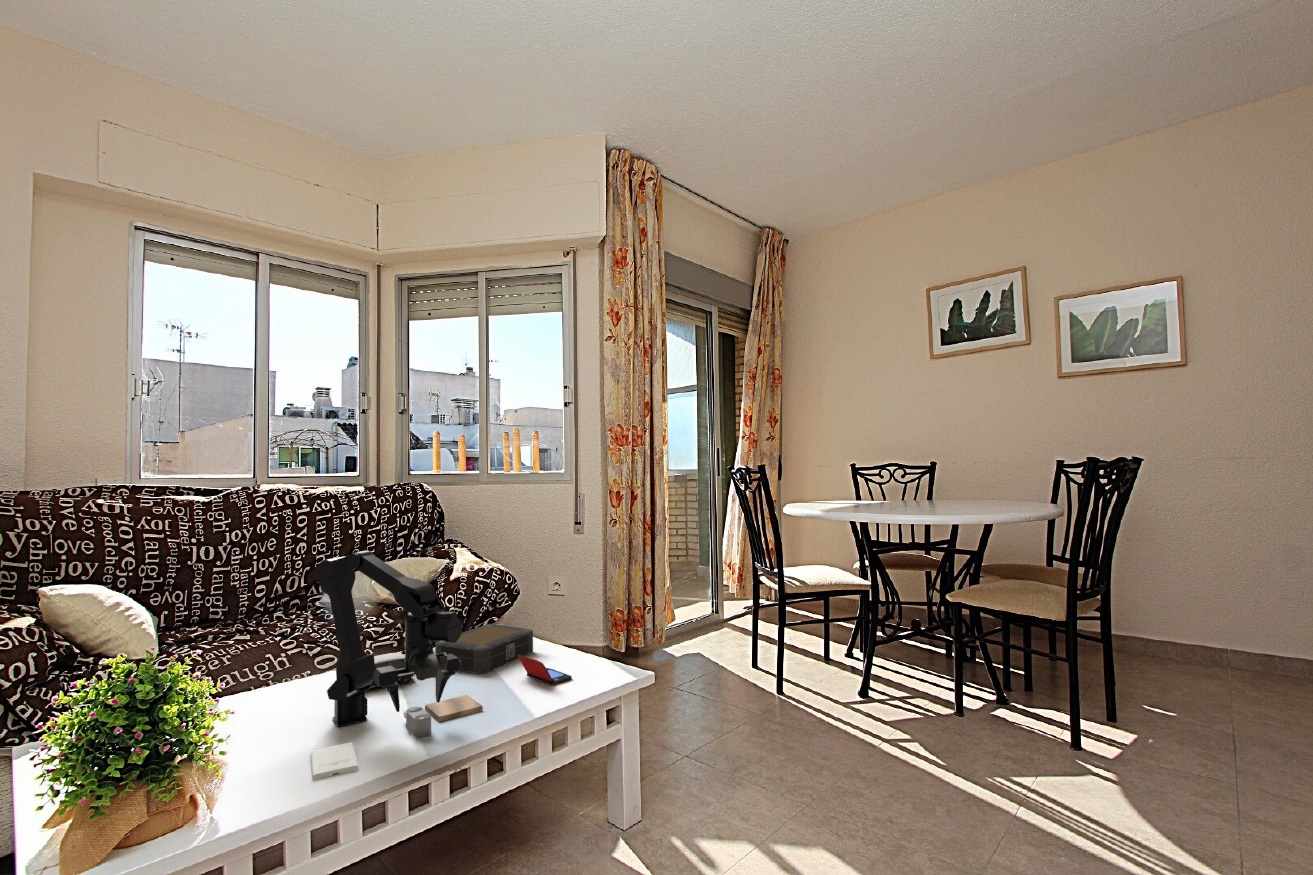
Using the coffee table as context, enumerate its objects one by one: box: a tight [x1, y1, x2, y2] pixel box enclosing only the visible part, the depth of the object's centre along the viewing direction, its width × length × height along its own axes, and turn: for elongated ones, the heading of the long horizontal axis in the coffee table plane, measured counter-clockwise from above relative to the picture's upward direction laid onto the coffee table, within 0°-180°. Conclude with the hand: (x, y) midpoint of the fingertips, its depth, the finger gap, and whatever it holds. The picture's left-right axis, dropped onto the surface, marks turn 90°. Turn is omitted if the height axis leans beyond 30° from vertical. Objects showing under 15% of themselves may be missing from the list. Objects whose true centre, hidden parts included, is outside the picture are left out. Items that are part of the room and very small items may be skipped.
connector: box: [403, 706, 432, 739], centre depth 154 cm, size 4×12×4 cm, turn 38°
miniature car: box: [364, 652, 416, 693], centre depth 185 cm, size 9×18×8 cm, turn 127°
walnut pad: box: [424, 694, 484, 723], centre depth 165 cm, size 11×10×1 cm
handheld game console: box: [518, 655, 573, 686], centre depth 188 cm, size 12×11×7 cm
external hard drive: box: [310, 742, 359, 781], centre depth 137 cm, size 2×8×12 cm
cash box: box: [434, 623, 534, 675], centre depth 208 cm, size 25×20×8 cm
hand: (418, 706), depth 153 cm, fingers open, 9 cm apart
